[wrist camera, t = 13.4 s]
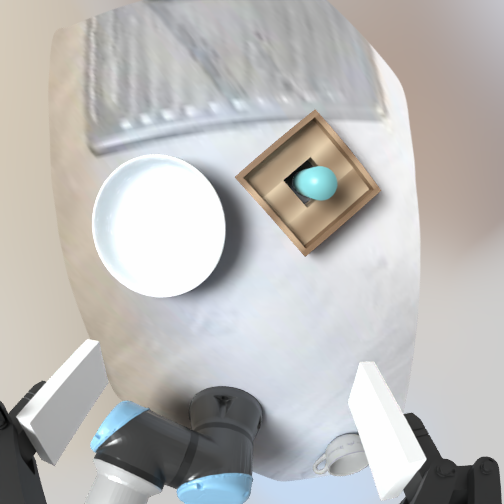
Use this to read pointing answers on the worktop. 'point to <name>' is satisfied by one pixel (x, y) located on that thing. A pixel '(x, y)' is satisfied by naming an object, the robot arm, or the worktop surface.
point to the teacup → (343, 456)
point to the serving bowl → (159, 225)
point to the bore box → (314, 211)
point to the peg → (315, 183)
